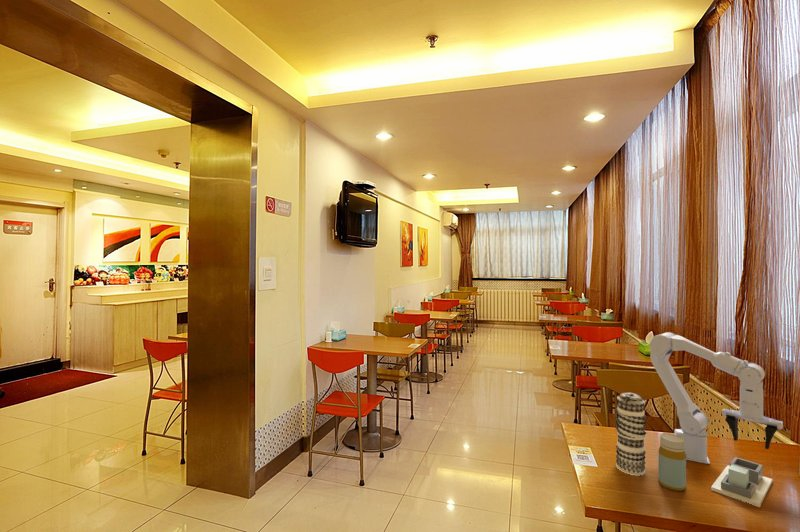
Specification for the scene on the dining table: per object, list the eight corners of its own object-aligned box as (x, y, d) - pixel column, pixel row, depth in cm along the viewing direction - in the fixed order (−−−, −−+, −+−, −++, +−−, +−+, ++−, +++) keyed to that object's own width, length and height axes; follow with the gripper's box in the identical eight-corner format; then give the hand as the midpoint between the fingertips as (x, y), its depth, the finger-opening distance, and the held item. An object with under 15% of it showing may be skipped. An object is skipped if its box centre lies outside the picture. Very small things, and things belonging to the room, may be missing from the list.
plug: (745, 494, 116) (745, 474, 116) (728, 488, 119) (728, 468, 119) (748, 488, 119) (749, 468, 119) (731, 482, 122) (732, 463, 122)
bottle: (677, 494, 117) (678, 444, 117) (653, 482, 124) (653, 435, 123) (690, 488, 121) (691, 439, 120) (666, 477, 127) (666, 431, 127)
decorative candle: (618, 474, 129) (619, 398, 128) (611, 460, 138) (612, 389, 137) (650, 478, 126) (651, 400, 126) (641, 464, 135) (641, 391, 135)
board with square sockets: (759, 507, 111) (759, 490, 111) (711, 490, 120) (711, 473, 120) (772, 482, 124) (772, 466, 124) (727, 468, 132) (727, 453, 132)
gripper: (719, 398, 130) (719, 439, 131) (780, 411, 119) (780, 456, 119) (725, 394, 135) (725, 433, 135) (783, 405, 124) (783, 449, 124)
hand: (751, 443), depth 127 cm, fingers open, 7 cm apart
